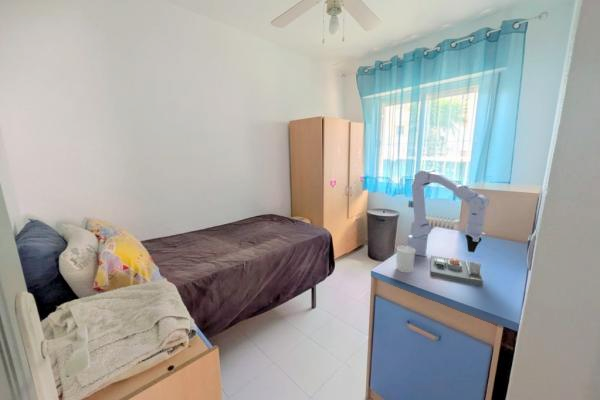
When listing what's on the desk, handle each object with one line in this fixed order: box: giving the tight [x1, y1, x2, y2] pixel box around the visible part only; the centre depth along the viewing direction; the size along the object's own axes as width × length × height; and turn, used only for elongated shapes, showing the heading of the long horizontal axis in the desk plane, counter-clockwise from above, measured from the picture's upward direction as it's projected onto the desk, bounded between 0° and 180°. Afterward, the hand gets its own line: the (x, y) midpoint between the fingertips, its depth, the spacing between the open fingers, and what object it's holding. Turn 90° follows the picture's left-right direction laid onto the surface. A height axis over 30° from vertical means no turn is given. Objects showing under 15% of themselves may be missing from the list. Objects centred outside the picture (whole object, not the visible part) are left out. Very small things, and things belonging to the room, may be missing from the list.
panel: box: [429, 255, 484, 287], centre depth 110 cm, size 19×18×4 cm
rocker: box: [436, 258, 445, 265], centre depth 112 cm, size 3×6×1 cm, turn 152°
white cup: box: [395, 245, 416, 274], centre depth 112 cm, size 8×8×10 cm
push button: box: [450, 258, 459, 265], centre depth 110 cm, size 3×3×3 cm
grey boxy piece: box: [469, 261, 482, 275], centre depth 103 cm, size 4×2×5 cm, turn 62°
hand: (470, 251), depth 109 cm, fingers closed
